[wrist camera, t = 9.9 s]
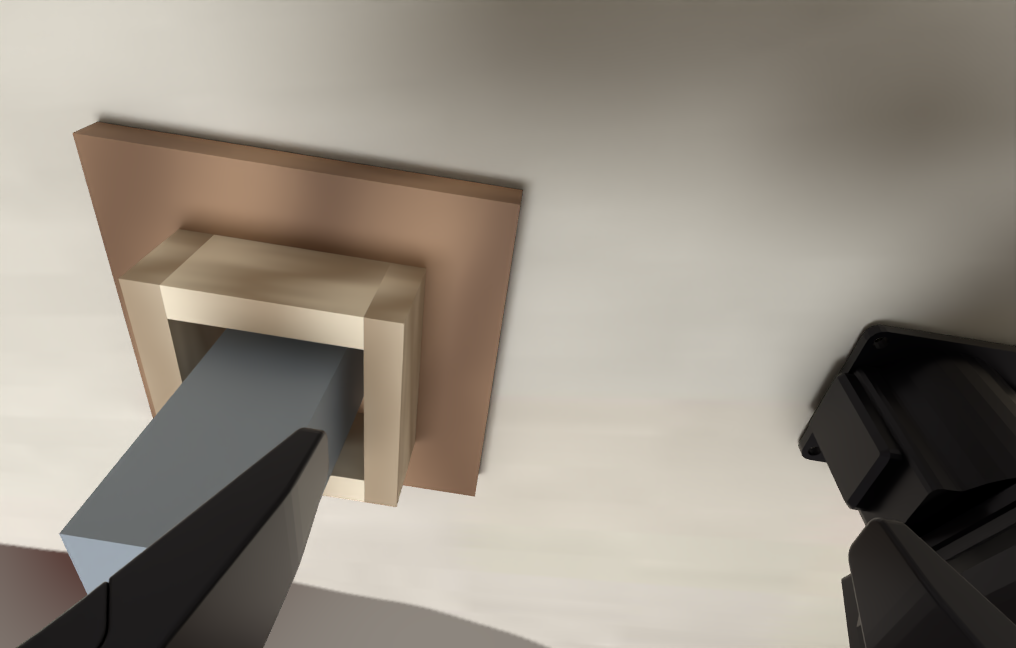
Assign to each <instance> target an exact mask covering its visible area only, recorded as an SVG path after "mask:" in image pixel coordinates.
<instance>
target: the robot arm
mask: <svg viewBox="0 0 1016 648" xmlns="http://www.w3.org/2000/svg"><path fill="white" fill-rule="evenodd" d="M880 337H883V339H882V340H880V341H878V342H874V341H875V340H876V339H878V338H880ZM798 446H799V449H800V451H801V454H802V456H803V457H804V458H806V459H809V460H815V461H821V462H827V464H828V466H829V468H830V471H831V473H832V475H833V477H834V479H835V481H836V484H837V486H838V488H839V490H840V492H841V494H842V497H843V499H844V501H845V502H846V504H847V505H848V507H849V508H850V509H854V510H858V511H859V513H860V515H861V517H862V519H863V521H864V523H865V525H866V526H865V528H864V529H863V530H862V532H861V533H860V534H859V536H858V537H857V538H856V539H855V541H854V542H853V543H852V545H851V547H850V549H849V566H850V571H851V574H849V575H848V576H846V577H844V578H842V589H843V597H844V605H845V612H846V620H847V628H848V636H849V644H850V648H1016V346H1010V345H1004V344H998V343H992V342H985V341H979V340H973V339H967V338H960V337H954V336H948V335H942V334H935V333H929V332H923V331H916V330H910V329H904V328H898V327H891V326H885V325H876V326H873V327H870V328H869V329H867V330H866V331H865V332H864V333H863V334H862V336H861V338H860V339H859V341H858V343H857V344H856V346H855V348H854V350H853V351H852V353H851V355H850V356H849V358H848V360H847V362H846V363H845V365H844V367H843V368H842V370H841V372H840V374H839V375H838V376H837V377H836V378H835V379H834V381H833V382H832V384H831V386H830V388H829V389H828V391H827V393H826V394H825V396H824V398H823V400H822V401H821V403H820V405H819V406H818V408H817V410H816V412H815V413H814V415H813V417H812V418H811V420H810V422H809V426H808V428H807V430H806V432H805V433H804V435H803V437H802V438H801V440H800V442H799V445H798ZM812 447H814V448H812ZM328 469H329V457H328V438H327V434H326V432H325V431H323V430H319V429H313V428H306V427H302V428H299V429H298V430H296V431H295V432H294V433H292V434H291V435H290V436H288V437H287V438H286V439H285V440H283V441H282V442H281V443H280V444H278V445H277V446H276V447H275V448H273V449H272V450H271V451H269V452H268V453H267V454H266V455H264V456H263V457H262V458H261V459H259V460H258V461H257V462H255V463H254V464H253V465H252V466H250V467H249V468H248V469H247V470H245V471H244V472H243V473H242V474H240V475H239V476H238V477H236V478H235V479H234V480H233V481H231V482H230V483H229V484H228V485H226V486H225V487H224V488H222V489H221V490H220V491H219V492H217V493H216V494H215V495H214V496H212V497H211V498H210V499H209V500H207V501H206V502H205V503H203V504H202V505H201V506H200V507H198V508H197V509H196V510H195V511H193V512H192V513H191V514H189V515H188V516H187V517H186V518H184V519H183V520H182V521H181V522H179V523H178V524H177V525H176V526H174V527H173V528H172V529H170V530H169V531H168V532H167V533H165V534H164V535H163V536H162V537H160V538H159V539H158V540H156V541H155V542H154V543H153V544H151V545H150V546H149V547H148V548H146V549H145V550H144V551H143V552H141V553H140V554H139V555H137V556H136V557H135V558H134V559H132V560H131V561H130V562H129V563H127V564H126V565H125V566H123V567H122V568H121V569H120V570H118V571H117V572H116V573H115V574H113V575H112V576H111V577H110V578H109V583H108V582H103V583H102V584H100V585H99V586H98V587H96V588H95V589H94V590H93V591H91V592H90V593H89V594H88V595H86V596H85V597H84V598H83V599H81V600H80V601H79V602H77V603H76V604H75V605H73V606H72V607H71V608H70V609H68V610H67V611H65V612H64V613H63V614H62V615H60V616H59V617H58V618H56V619H55V620H54V621H52V622H51V623H50V624H48V625H47V626H46V627H44V628H43V629H42V630H40V631H39V632H38V633H36V634H35V635H34V636H32V637H30V638H29V639H28V640H26V641H25V642H23V643H22V644H20V645H19V646H18V647H16V648H263V647H264V645H265V643H266V641H267V638H268V636H269V634H270V632H271V629H272V627H273V625H274V622H275V620H276V618H277V616H278V613H279V611H280V609H281V607H282V604H283V602H284V600H285V597H286V595H287V593H288V591H289V588H290V586H291V584H292V582H293V579H294V577H295V575H296V572H297V570H298V567H299V565H300V562H301V559H302V556H303V553H304V550H305V546H306V543H307V540H308V537H309V534H310V530H311V527H312V524H313V521H314V518H315V514H316V511H317V508H318V505H319V502H320V498H321V495H322V492H323V489H324V486H325V482H326V479H327V475H328Z"/></svg>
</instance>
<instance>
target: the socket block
mask: <svg viewBox="0 0 1016 648" xmlns="http://www.w3.org/2000/svg"><path fill="white" fill-rule="evenodd" d="M73 136H74V140H75V143H76V147H77V150H78V154H79V158H80V161H81V165H82V168H83V172H84V175H85V179H86V182H87V186H88V189H89V193H90V197H91V200H92V204H93V207H94V211H95V214H96V218H97V221H98V225H99V228H100V232H101V236H102V239H103V243H104V246H105V250H106V253H107V257H108V260H109V264H110V267H111V271H112V275H113V278H114V282H115V285H116V289H117V292H118V296H119V299H120V303H121V306H122V310H123V314H124V317H125V321H126V324H127V328H128V331H129V335H130V338H131V342H132V345H133V349H134V353H135V356H136V360H137V363H138V367H139V370H140V374H141V377H142V381H143V384H144V388H145V392H146V395H147V399H148V402H149V406H150V409H151V413H152V416H153V418H154V417H155V416H156V415H157V413H158V412H159V411H160V410H161V408H162V407H163V406H164V405H165V403H166V402H167V401H168V400H169V399H170V397H171V396H172V395H173V394H174V392H175V391H176V390H177V389H178V388H179V386H180V385H181V384H182V383H183V381H184V380H185V379H186V378H187V376H188V375H189V374H190V373H191V372H192V370H193V369H194V368H195V367H196V365H197V364H198V363H199V362H200V361H201V359H202V358H203V357H204V356H205V354H206V353H207V352H208V351H209V349H210V348H211V347H212V346H213V345H214V343H215V342H216V341H217V340H218V338H219V337H220V336H221V335H222V334H223V332H224V331H225V330H226V329H227V328H229V329H236V330H242V331H248V332H255V333H261V334H267V335H274V336H280V337H286V338H293V339H299V340H305V341H312V342H318V343H324V344H331V345H337V346H343V347H349V348H356V349H362V350H364V397H363V400H362V402H361V404H360V407H359V409H358V412H357V414H356V416H355V419H354V421H353V423H352V426H351V428H350V431H349V433H348V435H347V438H346V440H345V442H344V445H343V447H342V450H341V452H340V454H339V457H338V459H337V461H336V464H335V466H334V469H333V471H332V473H331V476H330V478H329V481H328V483H327V485H326V488H325V490H324V492H323V495H322V496H329V497H335V498H342V499H348V500H354V501H361V502H367V503H374V504H380V505H386V506H393V507H397V503H398V500H399V496H400V493H401V489H402V486H403V485H405V486H412V487H418V488H424V489H431V490H437V491H443V492H450V493H456V494H463V495H469V496H475V491H476V485H477V479H478V473H479V466H480V460H481V454H482V447H483V441H484V435H485V428H486V422H487V415H488V409H489V403H490V396H491V390H492V384H493V377H494V371H495V364H496V358H497V352H498V345H499V339H500V333H501V326H502V320H503V313H504V307H505V301H506V294H507V288H508V282H509V275H510V269H511V262H512V256H513V250H514V243H515V237H516V231H517V224H518V218H519V211H520V205H521V199H522V192H523V190H520V189H513V188H507V187H501V186H495V185H488V184H482V183H476V182H470V181H463V180H457V179H451V178H445V177H439V176H432V175H426V174H420V173H414V172H407V171H401V170H395V169H389V168H382V167H376V166H370V165H364V164H358V163H351V162H345V161H339V160H333V159H326V158H320V157H314V156H308V155H301V154H295V153H289V152H283V151H277V150H270V149H264V148H258V147H252V146H245V145H239V144H233V143H227V142H220V141H214V140H208V139H202V138H196V137H189V136H183V135H177V134H171V133H164V132H158V131H152V130H146V129H139V128H133V127H127V126H121V125H115V124H108V123H102V122H96V123H94V124H91V125H89V126H87V127H85V128H83V129H80V130H78V131H76V132H74V133H73Z"/></svg>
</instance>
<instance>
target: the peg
mask: <svg viewBox="0 0 1016 648" xmlns="http://www.w3.org/2000/svg"><path fill="white" fill-rule="evenodd" d="M363 397H364V350H362V349H356V348H349V347H343V346H337V345H331V344H324V343H318V342H312V341H305V340H299V339H293V338H286V337H280V336H274V335H267V334H261V333H255V332H248V331H242V330H236V329H229V328H227V329H226V330H225V331H224V332H223V334H222V335H221V336H220V337H219V338H218V340H217V341H216V342H215V343H214V345H213V346H212V347H211V348H210V349H209V351H208V352H207V353H206V354H205V356H204V357H203V358H202V359H201V361H200V362H199V363H198V364H197V365H196V367H195V368H194V369H193V370H192V372H191V373H190V374H189V375H188V376H187V378H186V379H185V380H184V381H183V383H182V384H181V385H180V386H179V388H178V389H177V390H176V391H175V392H174V394H173V395H172V396H171V397H170V399H169V400H168V401H167V402H166V403H165V405H164V406H163V407H162V408H161V410H160V411H159V412H158V413H157V415H156V416H155V417H154V418H153V419H152V421H151V422H150V423H149V424H148V426H147V427H146V428H145V429H144V430H143V432H142V433H141V434H140V435H139V437H138V438H137V439H136V440H135V442H134V443H133V444H132V445H131V446H130V448H129V449H128V450H127V451H126V453H125V454H124V455H123V456H122V457H121V459H120V460H119V461H118V462H117V464H116V465H115V466H114V467H113V469H112V470H111V471H110V472H109V473H108V475H107V476H106V477H105V478H104V480H103V481H102V482H101V483H100V484H99V486H98V487H97V488H96V489H95V491H94V492H93V493H92V494H91V496H90V497H89V498H88V499H87V500H86V502H85V503H84V504H83V505H82V507H81V508H80V509H79V510H78V511H77V513H76V514H75V515H74V516H73V518H72V519H71V520H70V521H69V523H68V524H67V525H66V526H65V527H64V529H63V530H62V531H61V532H60V536H61V538H62V541H63V543H64V545H65V547H66V549H67V551H68V553H69V555H70V558H71V560H72V562H73V564H74V566H75V568H76V571H77V573H78V575H79V577H80V579H81V581H82V583H83V586H84V588H85V590H86V592H87V594H89V593H90V592H91V591H93V590H94V589H95V588H96V587H98V586H99V585H100V584H102V583H103V582H108V583H109V578H110V577H111V576H112V575H113V574H115V573H116V572H117V571H118V570H120V569H121V568H122V567H123V566H125V565H126V564H127V563H129V562H130V561H131V560H132V559H134V558H135V557H136V556H137V555H139V554H140V553H141V552H143V551H144V550H145V549H146V548H148V547H149V546H150V545H151V544H153V543H154V542H155V541H156V540H158V539H159V538H160V537H162V536H163V535H164V534H165V533H167V532H168V531H169V530H170V529H172V528H173V527H174V526H176V525H177V524H178V523H179V522H181V521H182V520H183V519H184V518H186V517H187V516H188V515H189V514H191V513H192V512H193V511H195V510H196V509H197V508H198V507H200V506H201V505H202V504H203V503H205V502H206V501H207V500H209V499H210V498H211V497H212V496H214V495H215V494H216V493H217V492H219V491H220V490H221V489H222V488H224V487H225V486H226V485H228V484H229V483H230V482H231V481H233V480H234V479H235V478H236V477H238V476H239V475H240V474H242V473H243V472H244V471H245V470H247V469H248V468H249V467H250V466H252V465H253V464H254V463H255V462H257V461H258V460H259V459H261V458H262V457H263V456H264V455H266V454H267V453H268V452H269V451H271V450H272V449H273V448H275V447H276V446H277V445H278V444H280V443H281V442H282V441H283V440H285V439H286V438H287V437H288V436H290V435H291V434H292V433H294V432H295V431H296V430H298V429H299V428H302V427H306V428H313V429H319V430H323V431H325V432H326V434H327V438H328V457H329V469H328V475H327V479H326V482H325V486H324V489H323V492H324V490H325V488H326V485H327V483H328V481H329V478H330V476H331V473H332V471H333V469H334V466H335V464H336V461H337V459H338V457H339V454H340V452H341V450H342V447H343V445H344V442H345V440H346V438H347V435H348V433H349V431H350V428H351V426H352V423H353V421H354V419H355V416H356V414H357V412H358V409H359V407H360V404H361V402H362V400H363ZM323 492H322V495H323ZM322 495H321V497H322ZM320 500H321V498H320Z"/></svg>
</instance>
